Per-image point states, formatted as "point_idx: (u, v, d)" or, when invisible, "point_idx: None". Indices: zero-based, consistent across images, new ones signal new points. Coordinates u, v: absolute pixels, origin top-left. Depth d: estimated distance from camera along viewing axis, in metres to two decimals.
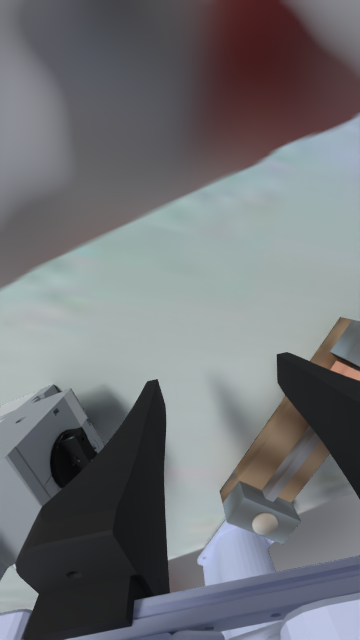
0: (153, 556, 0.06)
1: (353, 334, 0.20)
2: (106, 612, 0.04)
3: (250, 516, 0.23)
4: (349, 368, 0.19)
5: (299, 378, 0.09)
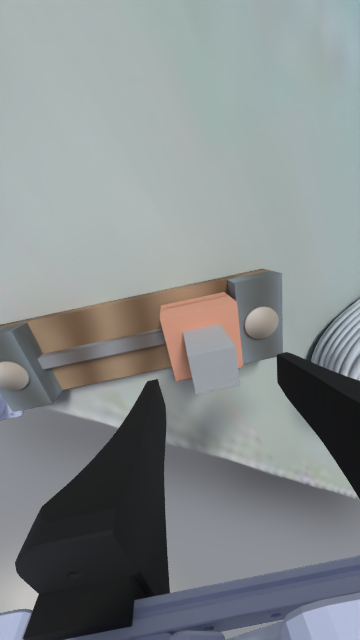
0: (153, 556, 0.06)
1: (259, 275, 0.17)
2: (106, 612, 0.04)
3: (0, 357, 0.17)
4: (228, 296, 0.16)
5: (299, 378, 0.09)
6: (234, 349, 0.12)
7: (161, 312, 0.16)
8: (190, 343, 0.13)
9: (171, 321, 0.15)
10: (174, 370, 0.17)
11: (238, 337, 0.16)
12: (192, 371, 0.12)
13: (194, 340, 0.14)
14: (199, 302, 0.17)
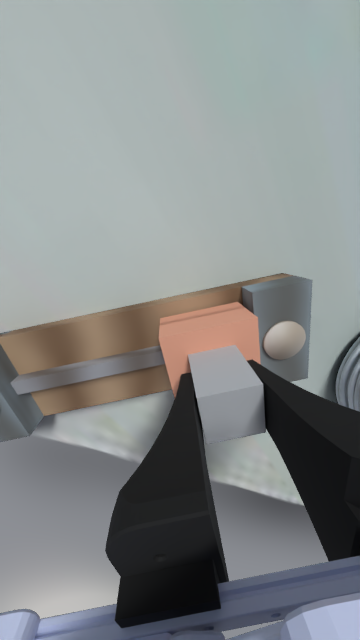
0: (219, 543, 0.06)
1: (282, 282, 0.14)
2: (197, 594, 0.04)
3: None
4: (244, 308, 0.13)
5: None
6: (261, 388, 0.09)
7: (160, 329, 0.13)
8: (198, 373, 0.10)
9: (173, 342, 0.12)
10: None
11: (257, 361, 0.13)
12: (202, 416, 0.09)
13: (204, 370, 0.10)
14: (208, 316, 0.13)
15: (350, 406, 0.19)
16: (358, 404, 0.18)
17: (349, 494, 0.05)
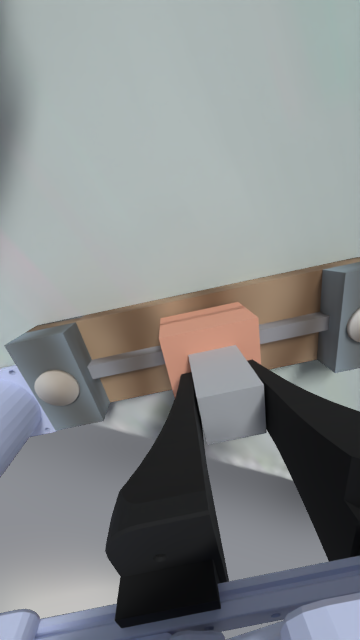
0: (219, 543, 0.06)
1: None
2: (197, 594, 0.04)
3: (46, 365, 0.14)
4: (244, 308, 0.13)
5: None
6: (261, 388, 0.09)
7: (161, 329, 0.13)
8: (198, 374, 0.10)
9: (173, 342, 0.12)
10: None
11: (258, 361, 0.13)
12: (203, 417, 0.09)
13: (205, 370, 0.10)
14: (208, 316, 0.13)
15: None
16: None
17: (349, 494, 0.05)
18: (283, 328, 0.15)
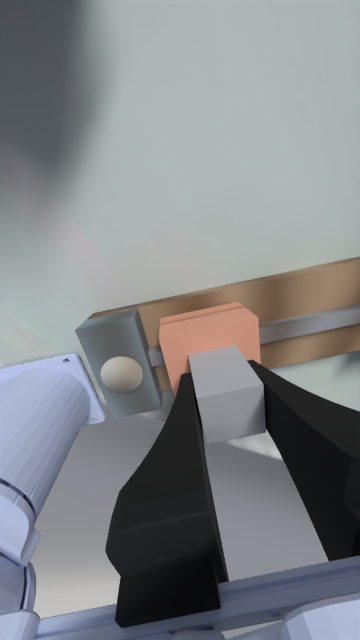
0: (219, 543, 0.06)
1: None
2: (197, 594, 0.04)
3: (113, 351, 0.14)
4: (244, 308, 0.13)
5: None
6: (261, 388, 0.09)
7: (160, 329, 0.13)
8: (198, 374, 0.10)
9: (173, 342, 0.12)
10: None
11: (258, 360, 0.13)
12: (202, 416, 0.09)
13: (204, 370, 0.10)
14: (208, 316, 0.13)
15: None
16: None
17: (349, 494, 0.05)
18: (345, 315, 0.15)
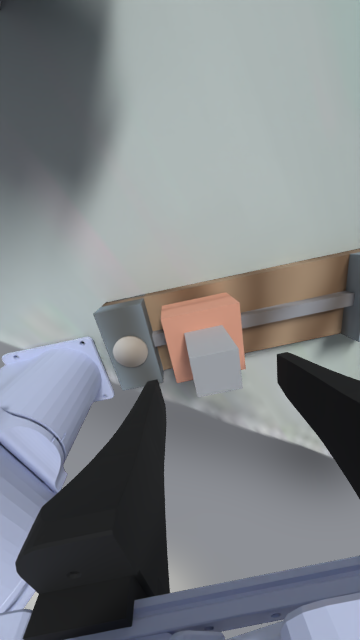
0: (153, 556, 0.06)
1: None
2: (106, 612, 0.04)
3: (123, 331, 0.17)
4: (230, 297, 0.16)
5: (299, 378, 0.09)
6: (237, 351, 0.12)
7: (162, 313, 0.16)
8: (191, 344, 0.13)
9: (172, 322, 0.15)
10: (175, 372, 0.16)
11: (240, 338, 0.16)
12: (194, 373, 0.12)
13: (196, 342, 0.13)
14: (201, 303, 0.16)
15: None
16: None
17: None
18: (316, 303, 0.18)
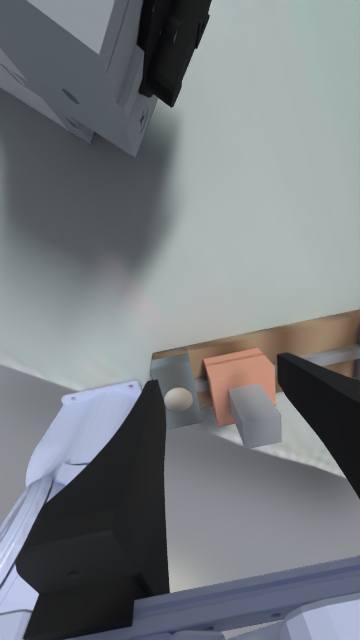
0: (153, 556, 0.06)
1: None
2: (106, 612, 0.04)
3: (174, 384, 0.20)
4: (263, 356, 0.19)
5: (299, 378, 0.09)
6: (279, 416, 0.15)
7: (208, 370, 0.19)
8: (239, 405, 0.16)
9: (219, 381, 0.18)
10: (218, 418, 0.19)
11: (273, 392, 0.19)
12: (244, 432, 0.15)
13: (242, 402, 0.17)
14: (239, 360, 0.19)
15: None
16: None
17: None
18: (333, 356, 0.21)
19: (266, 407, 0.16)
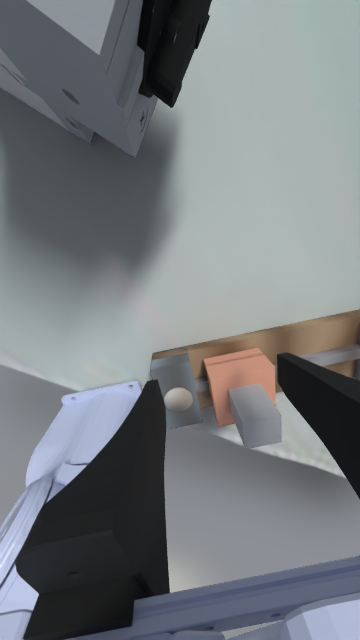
0: (153, 556, 0.06)
1: None
2: (106, 612, 0.04)
3: (174, 384, 0.20)
4: (263, 356, 0.19)
5: (299, 378, 0.09)
6: (279, 416, 0.15)
7: (208, 370, 0.19)
8: (239, 405, 0.16)
9: (219, 381, 0.18)
10: (218, 418, 0.19)
11: (273, 392, 0.19)
12: (244, 432, 0.15)
13: (242, 402, 0.17)
14: (239, 360, 0.19)
15: None
16: None
17: None
18: (333, 356, 0.21)
19: (266, 407, 0.16)
